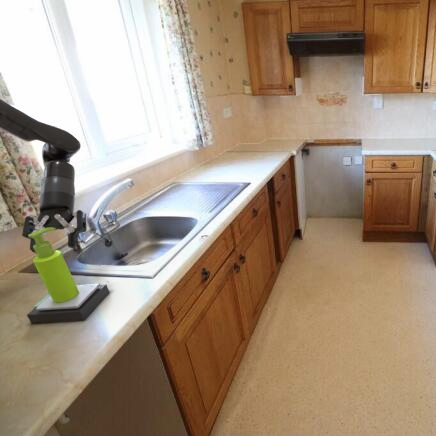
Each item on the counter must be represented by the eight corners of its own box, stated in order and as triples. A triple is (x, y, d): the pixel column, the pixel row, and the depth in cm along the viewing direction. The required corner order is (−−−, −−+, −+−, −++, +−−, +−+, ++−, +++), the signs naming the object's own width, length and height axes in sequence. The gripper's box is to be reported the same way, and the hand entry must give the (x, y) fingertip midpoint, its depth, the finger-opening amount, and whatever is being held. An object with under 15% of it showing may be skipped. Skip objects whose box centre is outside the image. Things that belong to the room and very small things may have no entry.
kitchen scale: (29, 323, 86) (23, 311, 84) (61, 295, 97) (56, 284, 95) (84, 320, 86) (78, 308, 85) (109, 292, 97) (105, 281, 96)
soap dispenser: (87, 290, 92) (59, 227, 83) (60, 305, 86) (28, 239, 78) (75, 285, 94) (46, 224, 86) (48, 299, 89) (15, 235, 80)
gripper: (19, 193, 87) (12, 250, 82) (78, 187, 90) (75, 241, 85) (38, 204, 94) (33, 257, 89) (92, 198, 97) (90, 249, 92)
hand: (53, 249), depth 87 cm, fingers open, 8 cm apart
